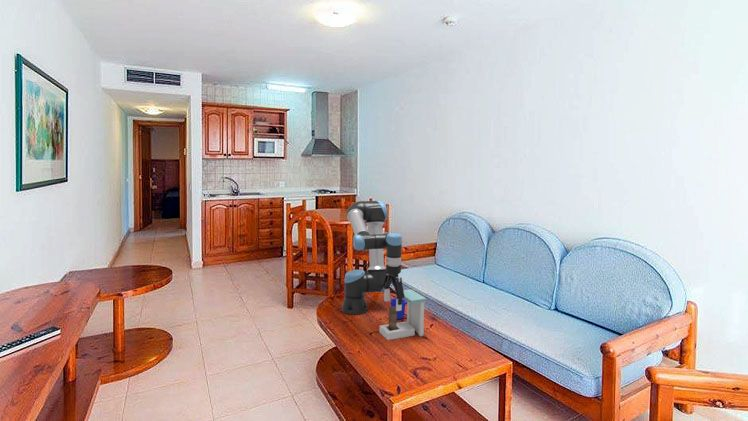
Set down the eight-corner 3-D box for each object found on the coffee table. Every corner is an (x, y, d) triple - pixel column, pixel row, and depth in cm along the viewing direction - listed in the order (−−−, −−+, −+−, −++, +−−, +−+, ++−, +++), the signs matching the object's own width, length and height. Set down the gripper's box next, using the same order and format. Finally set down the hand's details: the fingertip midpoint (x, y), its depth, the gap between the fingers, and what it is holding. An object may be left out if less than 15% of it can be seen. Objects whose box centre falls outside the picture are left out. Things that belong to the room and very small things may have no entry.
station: (377, 330, 207) (377, 293, 205) (410, 324, 215) (410, 289, 213) (390, 342, 193) (390, 303, 190) (425, 336, 200) (426, 298, 198)
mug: (410, 321, 219) (411, 304, 218) (389, 319, 221) (389, 302, 220) (412, 316, 227) (412, 299, 226) (391, 314, 229) (391, 297, 228)
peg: (387, 333, 203) (387, 307, 201) (394, 332, 205) (394, 306, 203) (390, 336, 199) (391, 309, 198) (397, 335, 201) (398, 308, 199)
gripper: (376, 259, 208) (375, 298, 211) (398, 272, 185) (397, 316, 188) (389, 257, 210) (388, 296, 213) (412, 270, 188) (411, 313, 191)
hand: (392, 305), depth 201 cm, fingers open, 13 cm apart
